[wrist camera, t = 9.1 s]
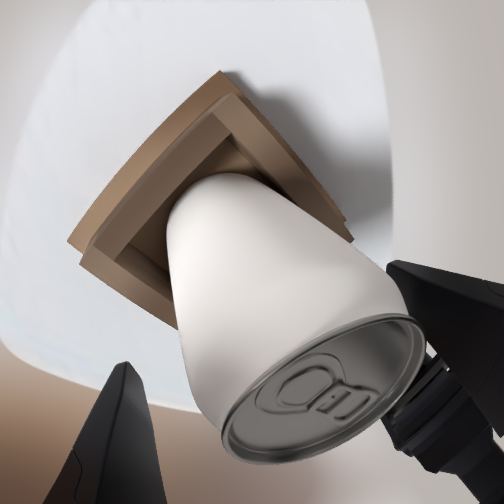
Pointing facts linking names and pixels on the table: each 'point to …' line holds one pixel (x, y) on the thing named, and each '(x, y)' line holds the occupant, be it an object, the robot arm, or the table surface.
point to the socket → (178, 180)
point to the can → (283, 323)
